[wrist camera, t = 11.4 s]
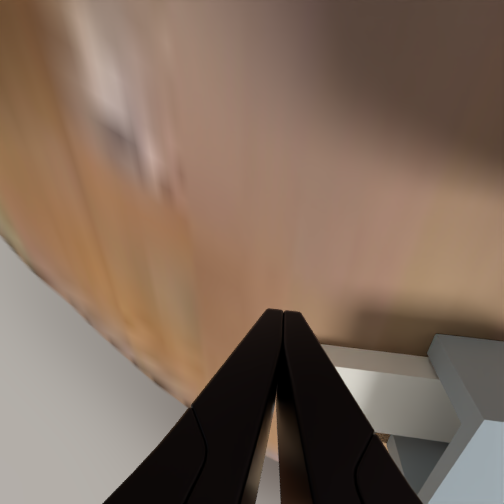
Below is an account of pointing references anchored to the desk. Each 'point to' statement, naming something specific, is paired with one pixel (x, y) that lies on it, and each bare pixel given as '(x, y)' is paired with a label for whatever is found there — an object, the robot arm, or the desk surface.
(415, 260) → the desk surface
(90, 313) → the desk surface
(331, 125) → the desk surface
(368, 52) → the desk surface
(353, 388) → the tile
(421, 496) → the overhang
